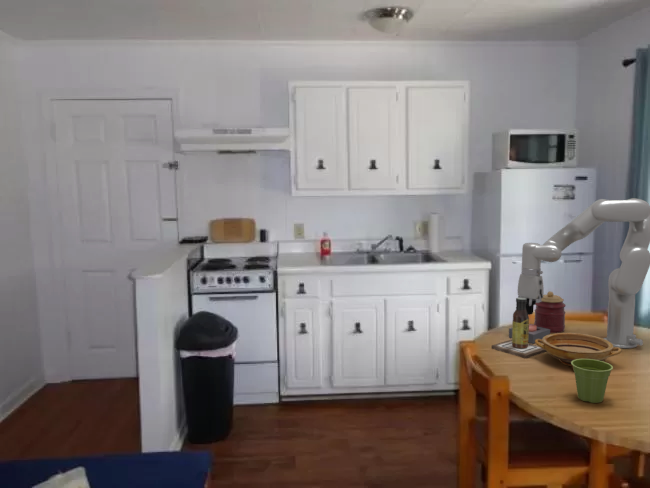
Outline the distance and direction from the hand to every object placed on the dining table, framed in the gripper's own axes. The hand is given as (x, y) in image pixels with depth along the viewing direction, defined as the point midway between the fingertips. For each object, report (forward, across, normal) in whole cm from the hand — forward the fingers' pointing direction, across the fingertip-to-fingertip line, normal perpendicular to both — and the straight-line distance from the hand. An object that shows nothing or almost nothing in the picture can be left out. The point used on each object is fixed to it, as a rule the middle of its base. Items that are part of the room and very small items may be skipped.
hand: (529, 313), depth 236 cm
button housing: (+11, 0, 0) cm, 11 cm away
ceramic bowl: (+11, -29, +13) cm, 34 cm away
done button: (+8, 0, 0) cm, 8 cm away
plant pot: (+11, -50, +41) cm, 66 cm away
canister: (+11, +2, -18) cm, 21 cm away
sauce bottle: (+10, -8, +16) cm, 21 cm away
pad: (+11, -7, +17) cm, 21 cm away
